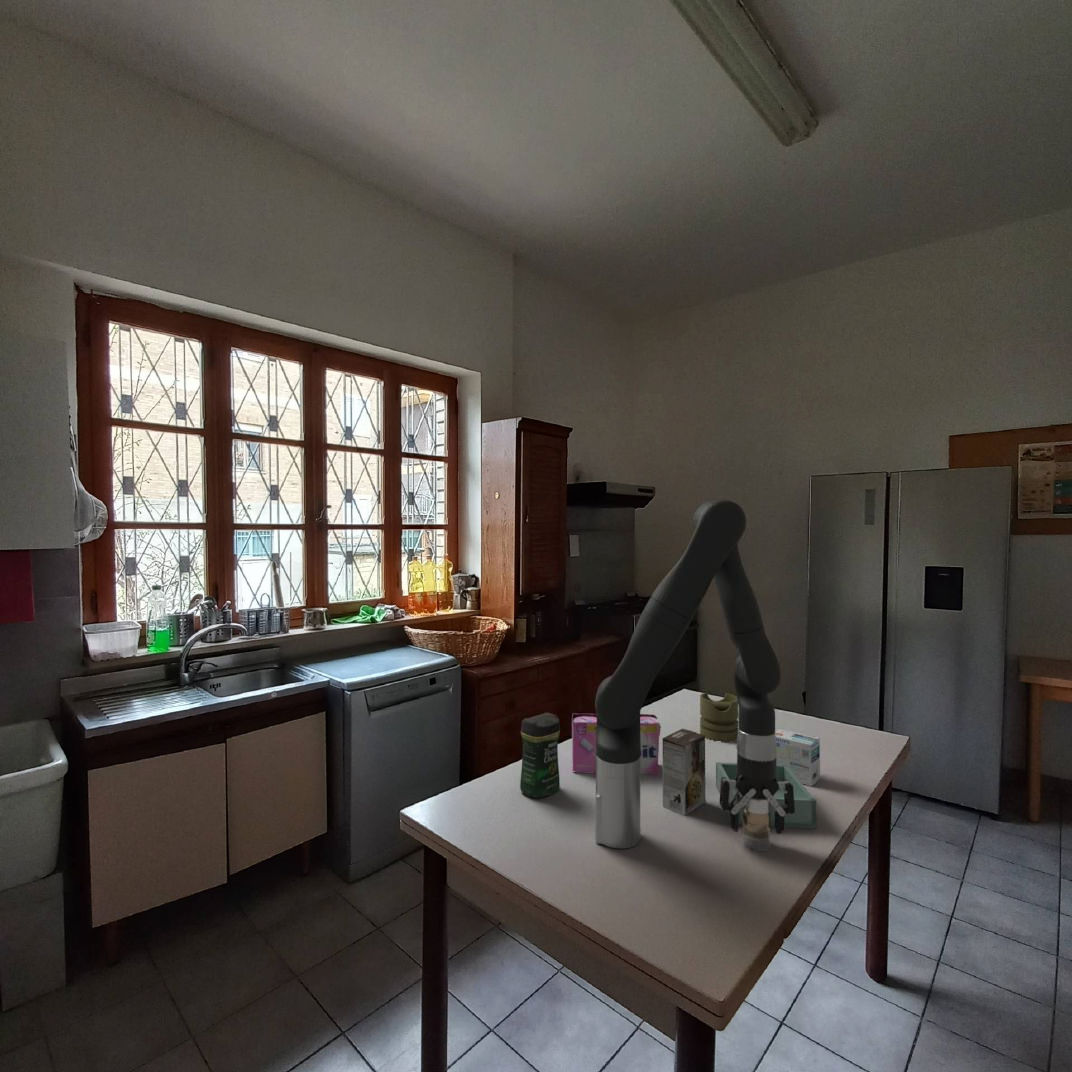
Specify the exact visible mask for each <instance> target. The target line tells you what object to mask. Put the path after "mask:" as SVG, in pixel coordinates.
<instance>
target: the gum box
mask: <svg viewBox="0 0 1072 1072" xmlns="http://www.w3.org/2000/svg"><path fill="white" fill-rule="evenodd" d="M661 728H662V727H661V723H660V720H658V716H656V715H655V714H650V713H649V714H648V713H640V740H641V748H640V775H658V774H659V753H660V751H659V750H660V736H661ZM596 729H597V713H579V712H578V713H573V712H572V717H571V738H572V739H571V744H572V745H571V749H572V750H571V754H572V755H571V756H572V760H571V761H572V764H573V766H572V772H573V771H575V772H596Z"/></svg>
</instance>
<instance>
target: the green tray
mask: <svg viewBox="0 0 1072 1072" xmlns="http://www.w3.org/2000/svg"><path fill="white" fill-rule="evenodd" d="M722 777H726V778H727V779H729V780H735V779H736V777H737V762H717V761H716V762H715V786H716V789H717V791H718V793H719V794H720V787H721V778H722ZM785 779H787V780H789V781H790V783H791V784H792V785H793V790H794V806H795V812H794V813H793V814H790V813H788V814H786V815H785V817H784V828H796V829H801V828H802V829H817V799H815V798H814V796H813V795H812V793H810V792H809V790H808V789H807V788H806V787H805V784H802V783H801V782H800V781H799V779H798V778H797V777H796V776H795V775H794V773H793V772H792V771H791V770H790V768H789V767H788V766H787V765H776V780H777V782H783V781H784V780H785ZM738 791H739V790H738V789H737V787H736V786H735V787H733V789H732V791H729V803H730V802H731V801H732V800H733V798H734V796H735V794H736V793H737V792H738ZM774 797H775V799H776V800H777V802H778V803H779V804H780V805H784V804H785V802H784V793H783V792H782V791H781V788H779V789H778V791H777V792H776V793H775V794H774ZM775 811H776V809H775V808H774V807H773V806H772V804H771V803H770V827H774V828H775ZM727 812H728V813H729V811H727ZM737 814H738V826H742V818H743V807H741V809H740V810H739V811H738V812H737ZM797 827H798V828H797Z"/></svg>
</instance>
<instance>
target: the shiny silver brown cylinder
mask: <svg viewBox="0 0 1072 1072" xmlns="http://www.w3.org/2000/svg"><path fill="white" fill-rule="evenodd" d="M741 826H742V828H741V829H742V844H743V845H744V846H745V847H746V848H747V849H749V850H752V851H756V852H766V851H768V850H769V849H770V848H771V826H770V802H769V800H768V799H767V798H750V799H749V801H748V802H747V803H746V804H745V806H744V807H743V818H742V825H741Z"/></svg>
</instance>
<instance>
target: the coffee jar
mask: <svg viewBox="0 0 1072 1072" xmlns="http://www.w3.org/2000/svg"><path fill="white" fill-rule="evenodd" d="M560 723H561V722H560V718H559V717H558V715H556V714H553V713H550V712H544V713H541V714H538V715H534V716H532V717H527V718H523V720H522V721H521V728H520V735H521V738H522V757H521V758H522V760H521V761H522V762H521V771H520V773H521V774H520V781H519V782H520V784H519V788H520V789H519V790H520V791H521V792H522V793H523V794H524V795H526V796H527V795H528V797H530V796H531V797H532V798H537V799H538V798H540V797H541V798H544V797H546V796H549V794H550V795H551V794H554V793H556V792H558V790H560V788H561V787H560V786H561V785H560V783H561V782H560V779H561V778H560V767H559V754H558V753H559V751H558V744H559V743H558V742H559V738H560V732H561V726H560V725H561V724H560Z"/></svg>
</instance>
